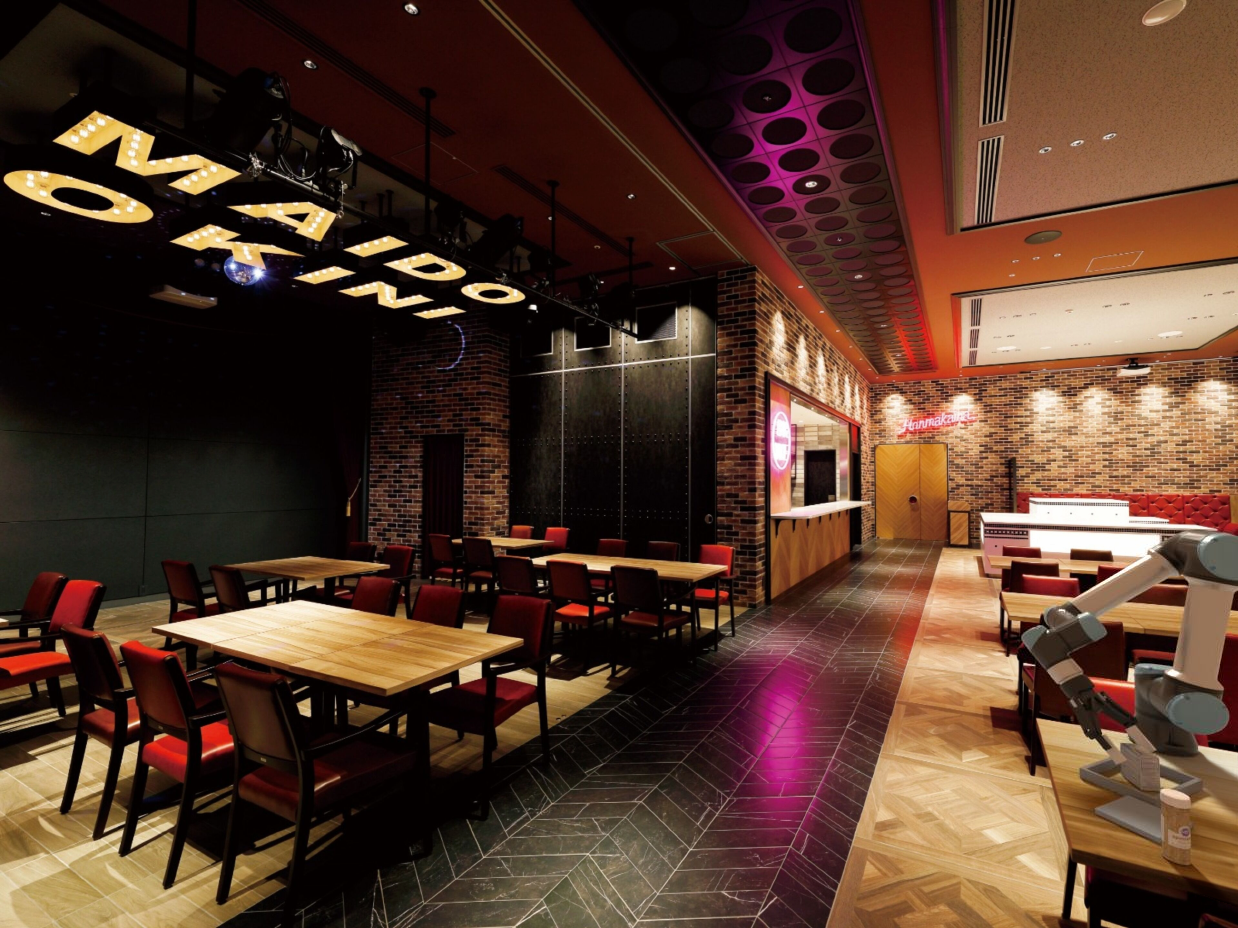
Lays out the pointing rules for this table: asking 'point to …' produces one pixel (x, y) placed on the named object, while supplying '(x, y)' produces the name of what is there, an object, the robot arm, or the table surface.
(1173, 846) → the sprinkles bottle
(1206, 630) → the robot arm
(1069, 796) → the table surface
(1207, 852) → the table surface
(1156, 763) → the medicine box
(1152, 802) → the grey rectangular frame
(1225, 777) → the table surface
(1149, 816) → the board
